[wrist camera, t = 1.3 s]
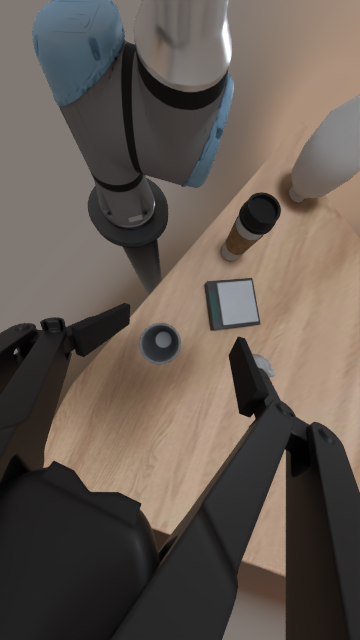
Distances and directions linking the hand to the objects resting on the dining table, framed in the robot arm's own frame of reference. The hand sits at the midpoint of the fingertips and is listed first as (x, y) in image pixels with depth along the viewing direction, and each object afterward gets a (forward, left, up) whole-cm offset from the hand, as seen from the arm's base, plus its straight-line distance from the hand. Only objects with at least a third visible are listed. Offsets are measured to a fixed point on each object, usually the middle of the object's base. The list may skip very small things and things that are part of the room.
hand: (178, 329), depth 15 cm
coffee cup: (-23, +21, -22) cm, 38 cm away
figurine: (+12, +21, -22) cm, 33 cm away
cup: (+2, -3, -22) cm, 22 cm away
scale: (-6, +18, -22) cm, 29 cm away
